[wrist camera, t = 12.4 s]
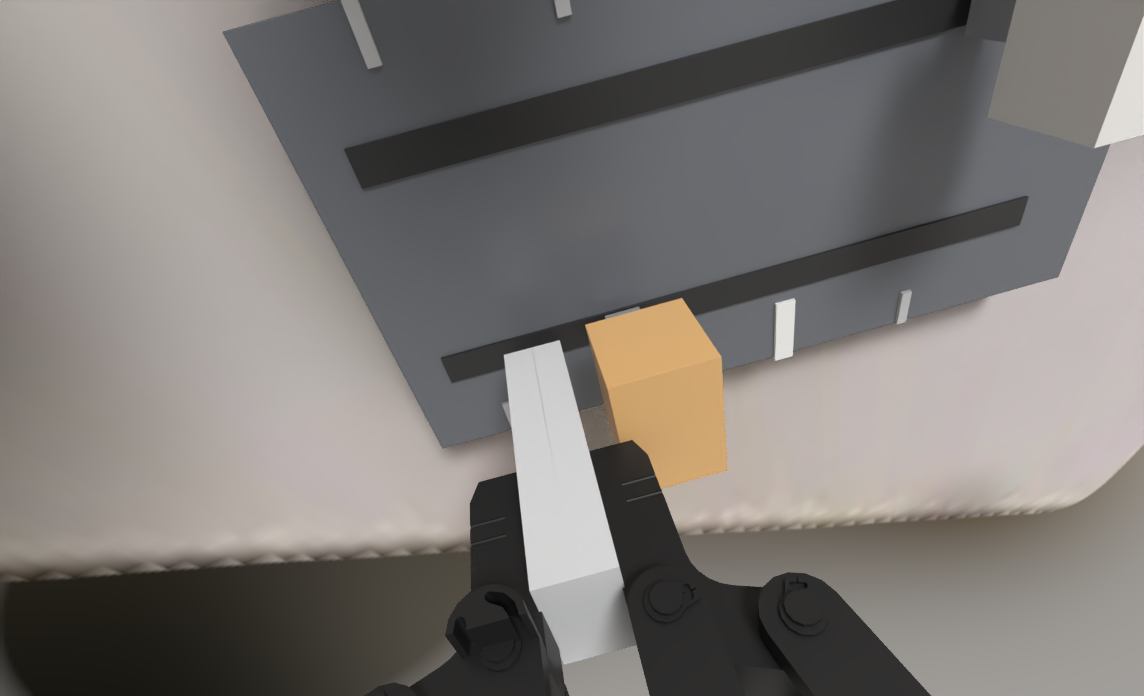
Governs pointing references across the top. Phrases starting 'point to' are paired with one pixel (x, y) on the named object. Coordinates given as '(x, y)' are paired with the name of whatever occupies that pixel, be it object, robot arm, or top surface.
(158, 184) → the top surface
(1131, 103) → the fader white
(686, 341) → the fader orange
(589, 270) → the console
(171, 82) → the top surface
